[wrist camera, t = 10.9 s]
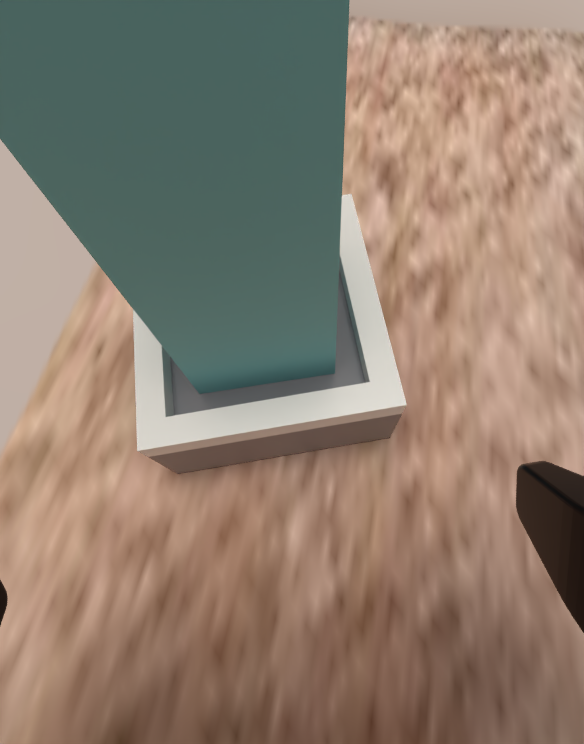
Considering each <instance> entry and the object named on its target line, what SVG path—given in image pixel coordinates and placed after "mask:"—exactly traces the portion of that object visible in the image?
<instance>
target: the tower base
mask: <svg viewBox="0 0 584 744" xmlns="http://www.w3.org/2000/svg"><path fill="white" fill-rule="evenodd" d="M133 324H134V357H135V391H136V424H137V451H138V452H140V453H142V454H144V455H145V456H147V457H149V458H151V459H152V460H154V461H156V462H158V463H160V464H161V465H163V466H165V467H167V468H168V469H170V470H172V471H174V472H176V473H177V474H180V473H186V472H191V471H197V470H203V469H209V468H215V467H221V466H227V465H233V464H238V463H244V462H250V461H256V460H262V459H268V458H274V457H279V456H285V455H291V454H297V453H303V452H309V451H315V450H321V449H326V448H332V447H338V446H344V445H350V444H356V443H362V442H367V441H373V440H379V439H385V438H390V436H391V434H392V432H393V431H394V429H395V427H396V425H397V423H398V421H399V419H400V417H401V415H402V413H403V411H404V409H405V407H406V405H407V404H406V400H405V397H404V393H403V389H402V385H401V381H400V377H399V374H398V370H397V366H396V362H395V358H394V355H393V351H392V347H391V343H390V339H389V336H388V332H387V328H386V324H385V320H384V316H383V313H382V309H381V305H380V301H379V297H378V294H377V290H376V286H375V282H374V278H373V275H372V271H371V267H370V263H369V259H368V255H367V252H366V248H365V244H364V240H363V236H362V233H361V229H360V225H359V221H358V217H357V213H356V210H355V206H354V202H353V198H352V194H348V195H342V204H341V230H340V256H339V282H338V308H337V334H336V360H335V374H328V375H321V376H315V377H308V378H302V379H295V380H289V381H282V382H275V383H269V384H262V385H256V386H249V387H243V388H236V389H229V390H223V391H216V392H210V393H203V394H199V393H198V391H197V390H196V389H195V388H194V386H193V385H192V384H191V382H190V381H189V380H188V379H187V377H186V376H185V375H184V373H183V372H182V371H181V370H180V368H179V367H178V366H177V364H176V363H175V362H174V361H173V359H172V358H171V357H170V355H169V354H168V353H167V352H166V350H165V349H164V348H163V347H162V345H161V344H160V343H159V341H158V340H157V339H156V338H155V336H154V335H153V334H152V332H151V331H150V330H149V329H148V327H147V326H146V325H145V323H144V322H143V321H142V320H141V318H140V317H139V316H138V315H137V313H136V312H135V311H134V309H133Z"/></svg>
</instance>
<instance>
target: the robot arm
mask: <svg viewBox="0 0 584 744" xmlns="http://www.w3.org/2000/svg"><path fill="white" fill-rule="evenodd" d="M516 508H517V512H518V516H519V518H520V520H521V522H522V524H523V526H524V528H525V530H526V532H527V534H528V536H529V538H530V539H531V541H532V543H533V545H534V547H535V549H536V551H537V553H538V555H539V557H540V558H541V560H542V562H543V564H544V566H545V568H546V570H547V572H548V574H549V576H550V578H551V579H552V581H553V583H554V585H555V587H556V589H557V591H558V593H559V594H560V596H561V598H562V600H563V602H564V603H565V605H566V607H567V608H568V610H569V611H570V613H571V615H572V616H573V618H574V619H575V621H576V622H577V624H578V625H579V627H580V628H581V630H582V631H583V633H584V476H582V475H579V474H577V473H574V472H572V471H569V470H567V469H564V468H562V467H559V466H557V465H554V464H552V463H549V462H546V461H538V462H532V463H526V464H522V465H521V466H519V467H518V470H517V487H516ZM6 606H7V592H6V589H5V588H4V586H3V584H2V582H1V580H0V625H1V622H2V619H3V616H4V613H5V610H6Z"/></svg>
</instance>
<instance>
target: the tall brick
mask: <svg viewBox="0 0 584 744" xmlns="http://www.w3.org/2000/svg"><path fill="white" fill-rule="evenodd" d="M348 22H349V0H0V139H1V140H2V142H3V143H4V144H5V145H6V147H7V148H8V149H9V151H10V152H11V153H12V154H13V156H14V157H15V158H16V160H17V161H18V162H19V163H20V165H21V166H22V167H23V169H24V170H25V171H26V172H27V174H28V175H29V176H30V177H31V178H32V180H33V181H34V182H35V184H36V185H37V186H38V188H39V189H40V190H41V191H42V193H43V194H44V195H45V197H46V198H47V199H48V200H49V202H50V203H51V204H52V205H53V207H54V208H55V210H56V211H57V212H58V213H59V215H60V216H61V217H62V218H63V220H64V221H65V222H66V223H67V225H68V226H69V227H70V229H71V230H72V231H73V233H74V234H75V235H76V236H77V238H78V239H79V240H80V242H81V243H82V244H83V245H84V247H85V248H86V249H87V250H88V252H89V253H90V254H91V256H92V257H93V258H94V259H95V261H96V262H97V263H98V265H99V266H100V267H101V268H102V270H103V271H104V272H105V274H106V275H107V276H108V277H109V279H110V280H111V281H112V282H113V284H114V285H115V286H116V288H117V289H118V290H119V291H120V293H121V294H122V295H123V297H124V298H125V299H126V300H127V302H128V303H129V304H130V306H131V307H132V308H133V309H134V311H135V312H136V313H137V315H138V316H139V317H140V318H141V320H142V321H143V322H144V323H145V325H146V326H147V327H148V329H149V330H150V331H151V332H152V334H153V335H154V336H155V338H156V339H157V340H158V341H159V343H160V344H161V345H162V347H163V348H164V349H165V350H166V352H167V353H168V354H169V355H170V357H171V358H172V359H173V361H174V362H175V363H176V364H177V366H178V367H179V368H180V370H181V371H182V372H183V373H184V375H185V376H186V377H187V379H188V380H189V381H190V382H191V384H192V385H193V386H194V388H195V389H196V390H197V391H198V393H199V394H203V393H210V392H216V391H223V390H229V389H236V388H243V387H249V386H256V385H262V384H269V383H275V382H282V381H289V380H295V379H302V378H308V377H315V376H321V375H328V374H335V360H336V334H337V308H338V282H339V256H340V230H341V204H342V178H343V152H344V126H345V100H346V74H347V48H348Z"/></svg>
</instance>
